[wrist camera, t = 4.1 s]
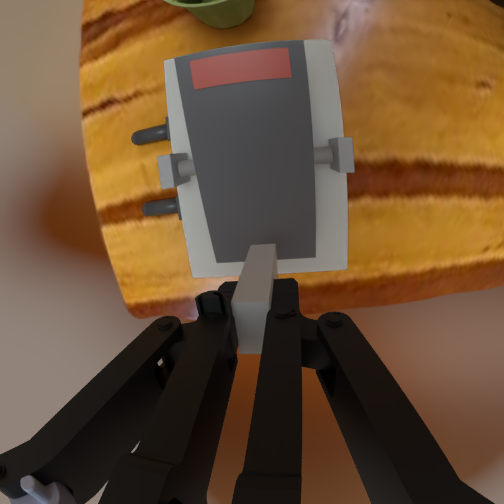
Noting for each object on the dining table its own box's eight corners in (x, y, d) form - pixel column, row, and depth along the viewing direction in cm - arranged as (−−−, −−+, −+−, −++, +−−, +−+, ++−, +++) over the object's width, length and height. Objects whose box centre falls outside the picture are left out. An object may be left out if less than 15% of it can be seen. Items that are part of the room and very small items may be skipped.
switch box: (321, 60, 22) (339, 22, 13) (335, 246, 29) (356, 290, 20) (131, 90, 25) (77, 76, 16) (155, 257, 32) (114, 297, 23)
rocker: (320, 43, 14) (325, 39, 12) (328, 245, 23) (332, 257, 22) (164, 63, 15) (154, 63, 14) (205, 252, 24) (201, 265, 23)
